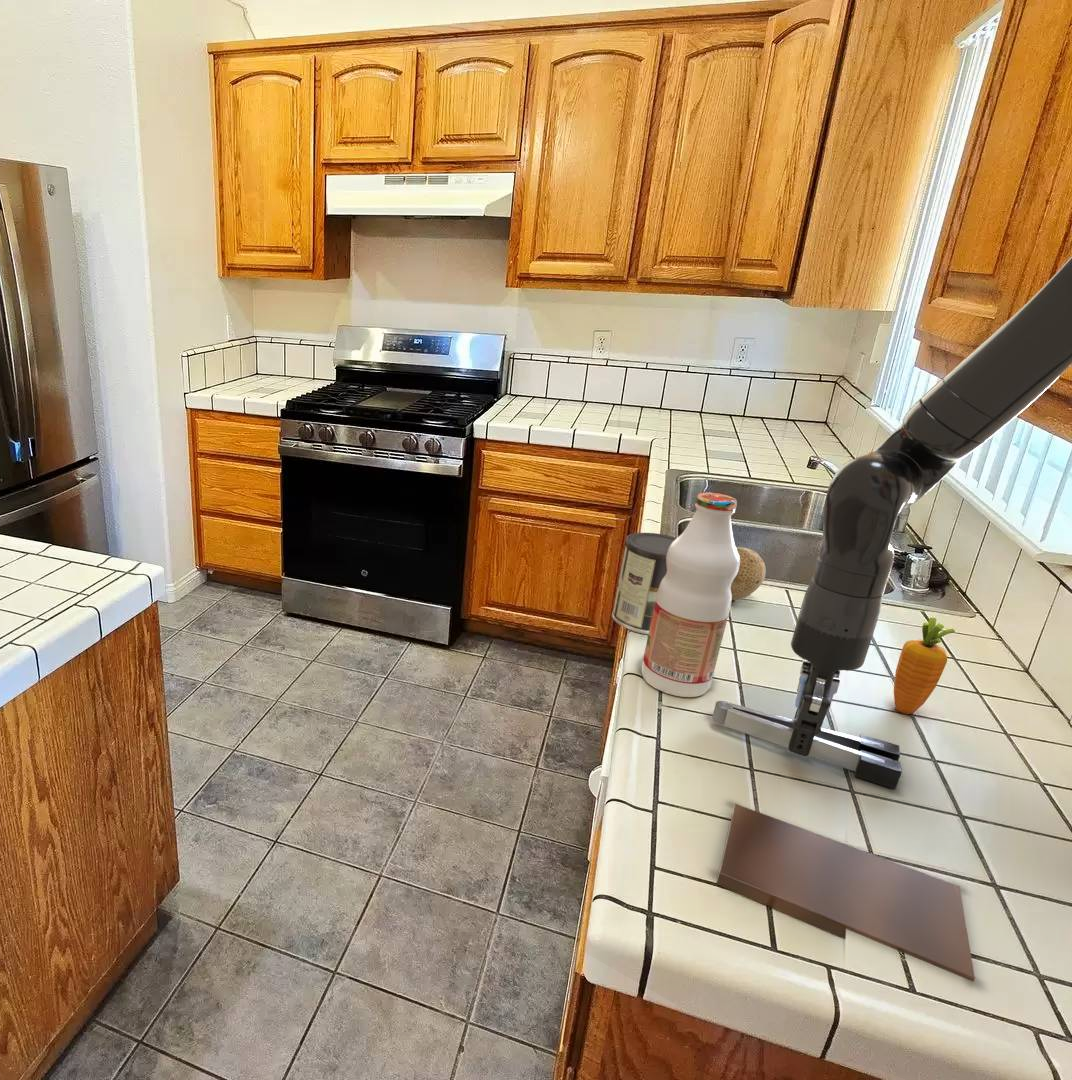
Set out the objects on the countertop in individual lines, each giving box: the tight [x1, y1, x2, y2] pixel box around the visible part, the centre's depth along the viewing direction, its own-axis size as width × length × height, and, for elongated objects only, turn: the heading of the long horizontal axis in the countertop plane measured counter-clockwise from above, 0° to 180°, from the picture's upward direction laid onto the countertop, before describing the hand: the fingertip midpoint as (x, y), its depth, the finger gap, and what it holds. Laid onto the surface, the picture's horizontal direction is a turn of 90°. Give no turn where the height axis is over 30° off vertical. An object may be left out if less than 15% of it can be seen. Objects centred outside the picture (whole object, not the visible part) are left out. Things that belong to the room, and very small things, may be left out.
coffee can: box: [611, 532, 677, 635], centre depth 124 cm, size 10×10×14 cm
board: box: [715, 803, 976, 982], centre depth 73 cm, size 20×12×2 cm, turn 58°
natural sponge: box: [730, 546, 767, 601], centre depth 135 cm, size 9×9×10 cm
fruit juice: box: [641, 491, 740, 698], centre depth 104 cm, size 9×9×28 cm
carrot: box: [893, 617, 956, 715], centre depth 100 cm, size 5×5×15 cm
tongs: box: [711, 700, 902, 790], centre depth 93 cm, size 20×6×2 cm, turn 58°
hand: (798, 743), depth 94 cm, fingers closed on tongs, 3 cm apart
